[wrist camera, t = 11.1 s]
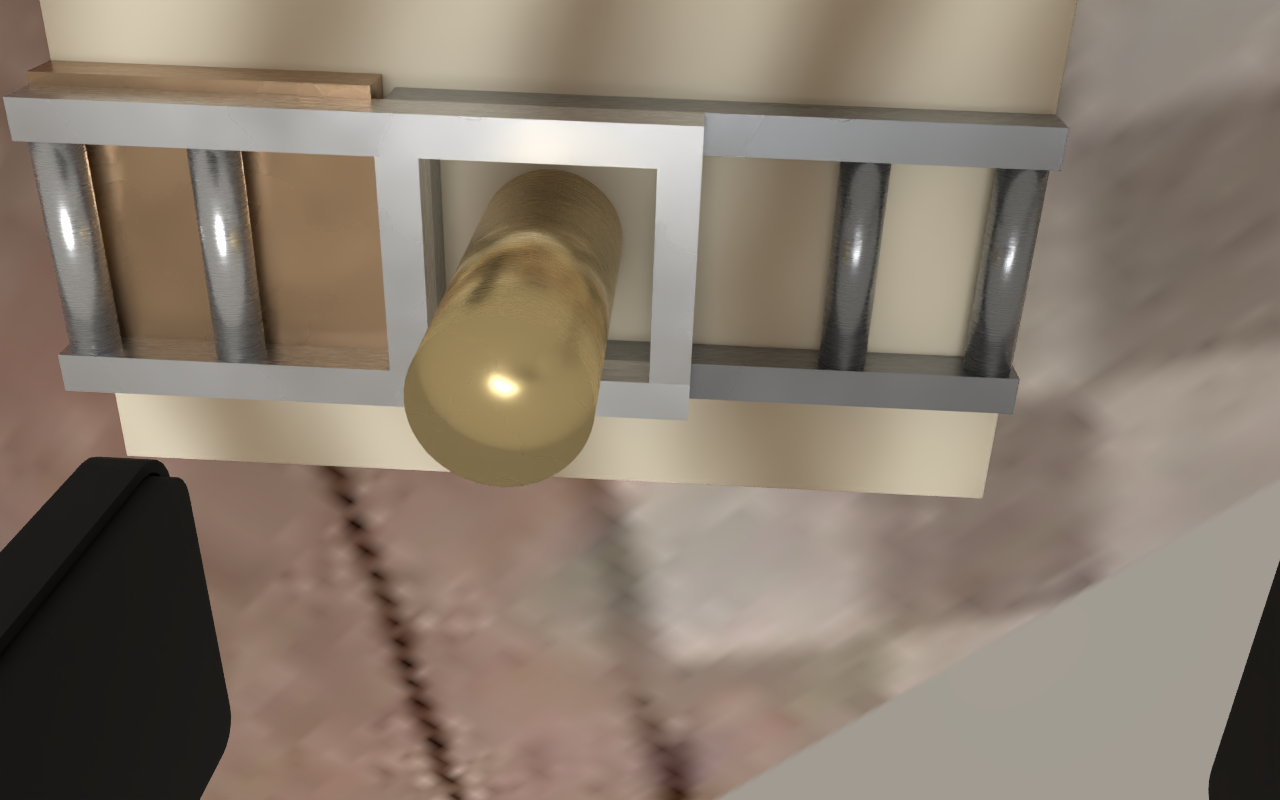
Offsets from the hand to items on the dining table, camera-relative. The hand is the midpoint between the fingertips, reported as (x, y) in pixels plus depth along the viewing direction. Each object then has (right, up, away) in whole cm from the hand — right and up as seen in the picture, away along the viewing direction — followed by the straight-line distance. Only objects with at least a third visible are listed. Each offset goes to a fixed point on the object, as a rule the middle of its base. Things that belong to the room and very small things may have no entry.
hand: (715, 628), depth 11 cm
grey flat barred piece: (-7, +6, +20) cm, 22 cm away
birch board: (-3, +6, +21) cm, 22 cm away
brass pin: (-3, +6, +20) cm, 21 cm away
